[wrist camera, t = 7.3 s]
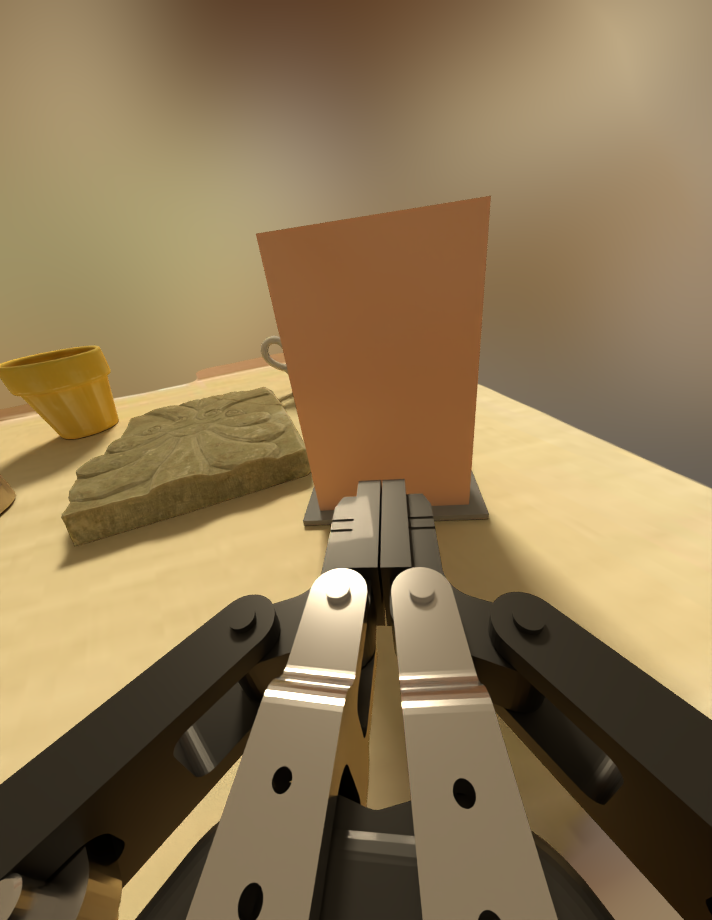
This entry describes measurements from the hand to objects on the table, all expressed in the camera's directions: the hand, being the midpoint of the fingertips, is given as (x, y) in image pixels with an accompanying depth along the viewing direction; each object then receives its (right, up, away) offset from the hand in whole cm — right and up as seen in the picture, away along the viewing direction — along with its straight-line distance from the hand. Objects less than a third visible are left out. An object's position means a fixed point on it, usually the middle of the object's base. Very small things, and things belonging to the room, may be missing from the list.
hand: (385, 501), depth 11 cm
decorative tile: (-17, +1, +23) cm, 29 cm away
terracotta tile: (+2, -1, +12) cm, 13 cm away
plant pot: (-37, +6, +34) cm, 50 cm away
